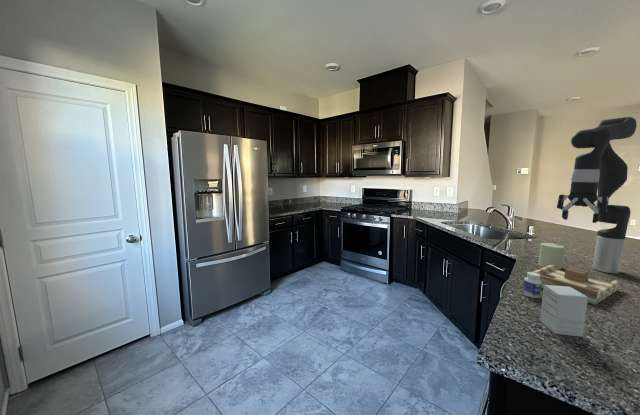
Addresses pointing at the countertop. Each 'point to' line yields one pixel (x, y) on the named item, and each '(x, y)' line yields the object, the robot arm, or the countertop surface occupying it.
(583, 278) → the block
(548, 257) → the can
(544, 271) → the board
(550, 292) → the supplement box
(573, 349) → the countertop surface
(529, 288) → the pill bottle
